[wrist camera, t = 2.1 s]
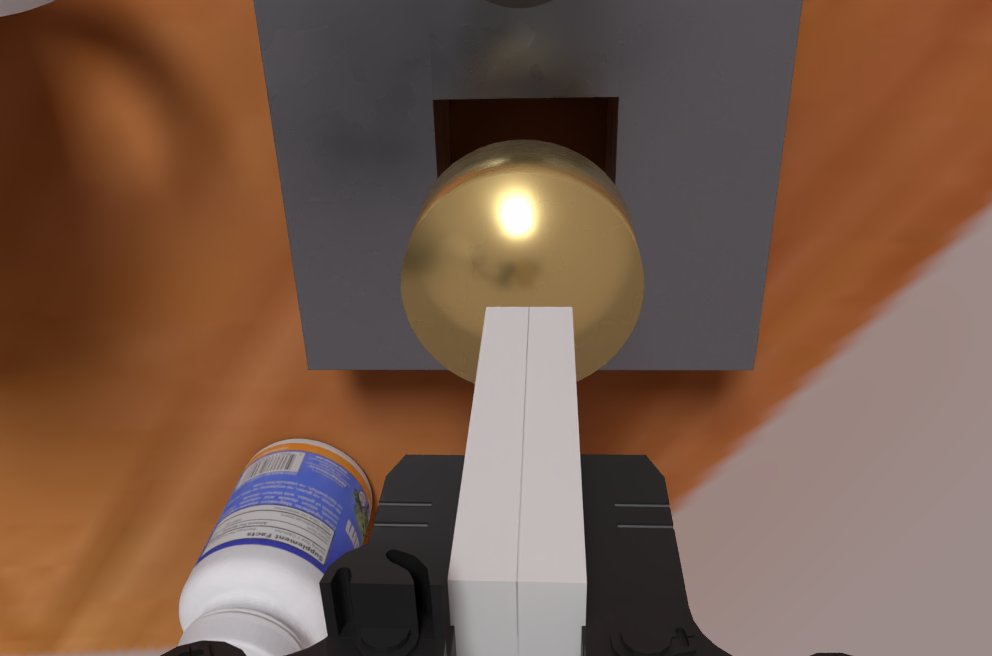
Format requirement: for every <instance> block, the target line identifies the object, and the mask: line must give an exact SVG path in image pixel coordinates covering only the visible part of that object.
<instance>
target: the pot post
mask: <svg viewBox="0 0 992 656" xmlns="http://www.w3.org/2000/svg"><path fill="white" fill-rule="evenodd" d="M486 1H488V2H490V3H493V4H496V5H499V6H503V7H509V8H530V7H535V6H539V5H542V4H545V3H548V2H550V1H552V0H486Z"/></svg>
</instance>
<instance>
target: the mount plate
mask: <svg viewBox="0 0 992 656" xmlns="http://www.w3.org/2000/svg"><path fill="white" fill-rule="evenodd" d="M253 1H254V8H255V14H256V21H257V28H258V35H259V41H260V48H261V55H262V61H263V68H264V75H265V82H266V88H267V95H268V102H269V108H270V115H271V122H272V129H273V135H274V142H275V149H276V155H277V162H278V169H279V176H280V182H281V189H282V196H283V203H284V209H285V216H286V223H287V229H288V236H289V243H290V250H291V256H292V263H293V270H294V276H295V283H296V290H297V297H298V303H299V310H300V317H301V323H302V330H303V337H304V344H305V350H306V357H307V364H308V370H448V369H447V368H445V367H444V366H443V365H441V364H440V363H439V362H438V361H437V360H436V359H435V358H434V357H433V356H432V355H430V353H429V352H428V351H427V350H426V349H425V347H424V346H423V345H422V344H421V342H420V341H419V339H418V338H417V336H416V335H415V333H414V331H413V329H412V327H411V325H410V323H409V321H408V319H407V315H406V312H405V309H404V305H403V300H402V293H401V272H402V264H403V260H404V256H405V252H406V249H407V246H408V243H409V240H410V237H411V234H412V231H413V229H414V226H415V223H416V220H417V217H418V214H419V211H420V208H421V206H422V204H423V202H424V199H425V197H426V195H427V194H428V192H429V190H430V189H431V187H432V186H433V184H434V183H435V182H436V180H437V179H438V178H439V177H440V176H441V174H442V173H443V172H444V171H445V170H447V169H448V168H449V167H450V166H451V165H452V161H451V141H450V122H449V103H448V99H506V98H571V97H607V125H606V154H605V174H606V175H607V176H608V177H609V178H610V179H611V180H612V181H613V183H614V184H615V186H616V187H617V189H618V190H619V192H620V193H621V195H622V197H623V199H624V201H625V204H626V206H627V208H628V212H629V215H630V218H631V222H632V226H633V229H634V233H635V237H636V241H637V245H638V249H639V253H640V257H641V261H642V267H643V273H644V293H643V301H642V306H641V310H640V313H639V317H638V319H637V322H636V324H635V326H634V328H633V331H632V332H631V334H630V336H629V337H628V339H627V340H626V342H625V344H624V345H623V346H622V347H621V348H620V350H619V351H618V352H617V353H616V355H614V356H613V357H612V358H611V359H610V360H609V361H608V362H607V363H606V364H605V365H604V366H602V367H601V368H599V369H598V370H754V363H755V355H756V348H757V340H758V332H759V325H760V317H761V310H762V302H763V295H764V287H765V280H766V272H767V265H768V257H769V250H770V242H771V234H772V227H773V219H774V212H775V204H776V197H777V189H778V182H779V174H780V167H781V159H782V152H783V144H784V137H785V129H786V121H787V114H788V106H789V99H790V91H791V84H792V76H793V69H794V61H795V54H796V46H797V39H798V31H799V23H800V16H801V8H802V1H803V0H552V1H550V2H548V3H545V4H542V5H539V6H535V7H530V8H509V7H503V6H499V5H496V4H493V3H490V2H488V1H486V0H253Z"/></svg>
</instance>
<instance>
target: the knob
mask: <svg viewBox="0 0 992 656" xmlns="http://www.w3.org/2000/svg"><path fill="white" fill-rule="evenodd" d="M401 293H402V300H403V305H404V309H405V312H406V315H407V319H408V321H409V323H410V325H411V327H412V329H413V331H414V333H415V335H416V336H417V338H418V339H419V341H420V342H421V344H422V345H423V346H424V347H425V349H426V350H427V351H428V352H429V353H430V355H432V356H433V357H434V358H435V359H436V360H437V361H438V362H439V363H440V364H441V365H443V366H444V367H445V368H447V369H448V370H450V371H451V372H452V373H454V374H456V375H458V376H459V377H461V378H463V379H465V380H467V381H469V382H472V383H474V384H475V382H476V375H477V368H478V361H479V354H480V347H481V340H482V333H483V326H484V319H485V311H486V307H572V312H573V330H574V349H575V368H576V382H577V381H580V380H582V379H583V378H585V377H587V376H589V375H591V374H592V373H594V372H595V371H597V370H598V369H599V368H601V367H602V366H604V365H605V364H606V363H607V362H608V361H609V360H610V359H611V358H612V357H613V356H614V355H616V353H617V352H618V351H619V350H620V348H621V347H622V346H623V345H624V344H625V342H626V340H627V339H628V337H629V336H630V334H631V332H632V331H633V328H634V326H635V324H636V322H637V319H638V317H639V313H640V310H641V306H642V301H643V293H644V273H643V267H642V261H641V257H640V253H639V249H638V245H637V241H636V237H635V233H634V229H633V226H632V222H631V218H630V215H629V212H628V208H627V206H626V204H625V201H624V199H623V197H622V195H621V193H620V192H619V190H618V189H617V187H616V186H615V184H614V183H613V181H612V180H611V179H610V178H609V177H608V176H607V175H606V174H605V172H604V171H603V170H601V169H600V168H599V167H598V166H597V165H596V164H594V163H593V162H592V161H590V160H589V159H587V158H586V157H584V156H583V155H581V154H579V153H577V152H575V151H573V150H571V149H569V148H567V147H564V146H560V145H557V144H554V143H550V142H545V141H539V140H524V139H521V140H508V141H503V142H498V143H493V144H490V145H487V146H484V147H481V148H479V149H477V150H475V151H473V152H471V153H469V154H467V155H465V156H463V157H462V158H460V159H459V160H458V161H456V162H455V163H453V164H452V165H451V166H450V167H449V168H448V169H447V170H445V171H444V172H443V173H442V174H441V176H440V177H439V178H438V179H437V180H436V182H435V183H434V184H433V186H432V187H431V189H430V190H429V192H428V194H427V195H426V197H425V199H424V202H423V204H422V206H421V208H420V211H419V214H418V217H417V220H416V223H415V226H414V229H413V231H412V234H411V237H410V240H409V243H408V246H407V249H406V252H405V256H404V260H403V264H402V272H401Z"/></svg>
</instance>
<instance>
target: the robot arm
mask: <svg viewBox="0 0 992 656" xmlns="http://www.w3.org/2000/svg"><path fill="white" fill-rule="evenodd" d="M379 503H380V504H379V506H378V509H377V512H376V516H375V520H374V527H372V531H371V535H370V539H369V542H368V544H366V545H363V546H361V547H358V548H356V549H353V550H351V551H348V552H346V553H345V554H343V555H342V556H341V557H340V558H338V559H337V560H336V561H335V562H333V563H332V564H331V565H330V566H329V567H328V568H327V570H326V572H325V573H324V575H323V577H322V579H321V580H320V582H319V586H320V592H321V598H322V604H323V610H324V616H325V622H326V629H327V635H328V636H327V637H326V638H325V639H323V640H321V641H319V642H318V643H316V644H314V645H312V646H310V647H309V648H306V649H303V650H300V651H297V652H295V653H292V654H288V655H284V656H732V655H730V654H728V653H727V652H725V651H723V650H722V649H720V648H718V647H717V646H716V645H714V644H713V643H712V642H711V641H710V640H709V639H708V638H707V637H706V636H705V635H704V634H703V633H702V632H701V631H700V629H699V628H698V626H697V625H696V623H695V622H694V620H693V618H692V615H691V612H690V609H689V606H688V601H687V595H686V590H685V584H684V579H683V574H682V568H681V563H680V558H679V552H678V547H677V542H676V537H675V531H674V529H673V521H672V515H671V510H670V508H669V499H668V494H667V489H666V484H665V478H664V476H663V475H662V474H661V473H660V472H659V470H658V469H657V468H656V467H655V466H654V464H653V463H652V462H651V461H650V460H649V458H648V457H647V456H646V455H586V454H580V443H579V424H578V406H577V387H576V368H575V349H574V330H573V312H572V307H486V311H485V319H484V326H483V333H482V340H481V347H480V354H479V361H478V368H477V375H476V382H475V389H474V396H473V403H472V410H471V417H470V424H469V432H468V439H467V446H466V453H465V455H405V456H404V457H403V458H402V459H401V461H400V462H399V463H398V464H397V465H396V466H395V467H394V468H393V469H392V470H391V472H390V473H389V474H388V475H387V476H386V479H385V482H384V486H383V490H382V494H381V497H380V501H379ZM161 656H247V655H246V654H245V653H244V651H243V650H242V649H240V648H238V647H235V646H233V645H231V644H229V643H227V642H225V641H207V640H202V641H197V642H193V643H189V644H185V645H181V646H178V647H176V648H174V649H172V650H170V651H168V652H166V653H165V654H163V655H161ZM811 656H851V655H847V654H844V653H816V654H813V655H811Z"/></svg>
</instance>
